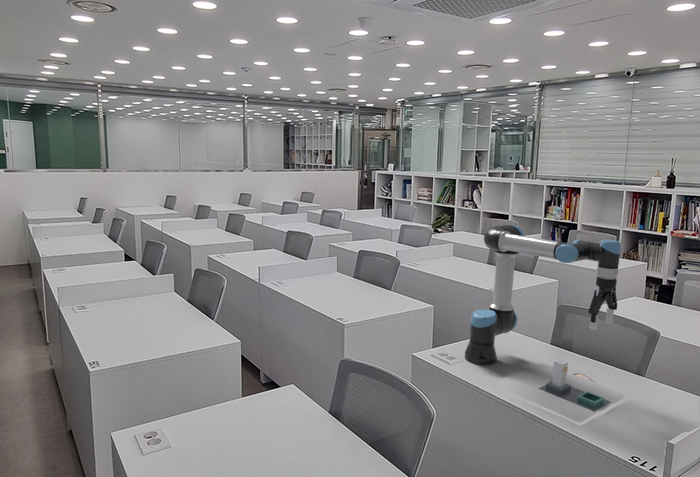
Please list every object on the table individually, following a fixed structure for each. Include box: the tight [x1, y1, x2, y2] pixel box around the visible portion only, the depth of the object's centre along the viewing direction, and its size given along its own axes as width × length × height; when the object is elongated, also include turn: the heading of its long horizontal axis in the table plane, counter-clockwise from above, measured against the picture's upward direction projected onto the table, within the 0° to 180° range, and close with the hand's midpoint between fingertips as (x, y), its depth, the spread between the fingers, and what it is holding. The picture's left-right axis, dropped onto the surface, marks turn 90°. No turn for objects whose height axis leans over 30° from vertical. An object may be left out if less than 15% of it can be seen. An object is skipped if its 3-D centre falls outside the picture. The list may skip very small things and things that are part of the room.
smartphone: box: [572, 373, 596, 383], centre depth 228 cm, size 1×7×15 cm
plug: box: [551, 358, 569, 388], centre depth 217 cm, size 5×4×12 cm
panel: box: [538, 380, 611, 412], centre depth 213 cm, size 24×14×3 cm, turn 38°
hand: (601, 326), depth 216 cm, fingers open, 13 cm apart
